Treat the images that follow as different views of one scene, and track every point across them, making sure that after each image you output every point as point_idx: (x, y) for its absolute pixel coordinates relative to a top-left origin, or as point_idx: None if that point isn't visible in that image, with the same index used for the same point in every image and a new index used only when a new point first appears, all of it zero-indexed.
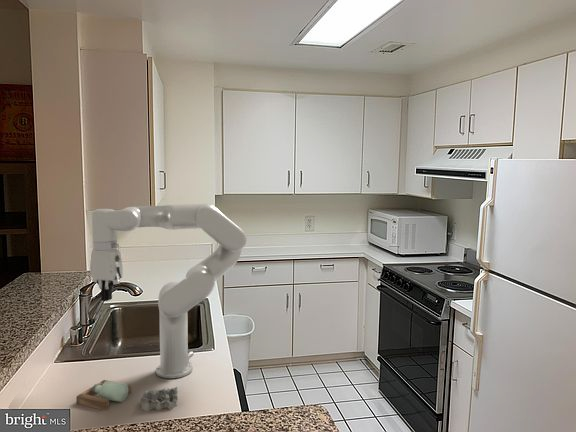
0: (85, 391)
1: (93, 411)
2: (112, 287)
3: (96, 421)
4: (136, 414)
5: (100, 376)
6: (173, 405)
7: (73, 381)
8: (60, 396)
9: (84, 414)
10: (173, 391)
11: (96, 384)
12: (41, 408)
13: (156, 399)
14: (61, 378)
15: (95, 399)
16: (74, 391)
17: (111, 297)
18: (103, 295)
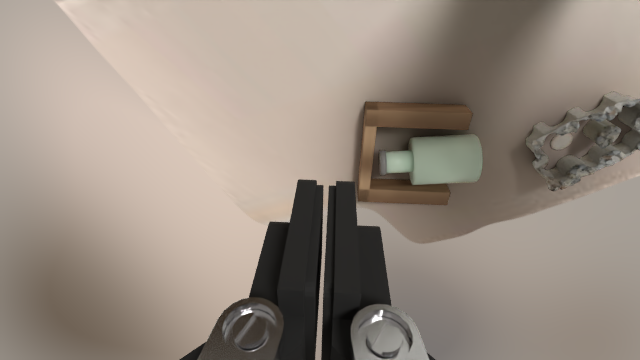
0: (362, 178)
1: None
2: (406, 327)
3: (448, 227)
4: (528, 187)
5: (301, 43)
6: (626, 138)
7: (250, 101)
8: (291, 174)
9: (405, 215)
10: (629, 100)
11: (385, 168)
12: None
13: (564, 122)
14: (200, 96)
15: (415, 201)
16: (303, 146)
17: (354, 195)
18: (318, 298)
